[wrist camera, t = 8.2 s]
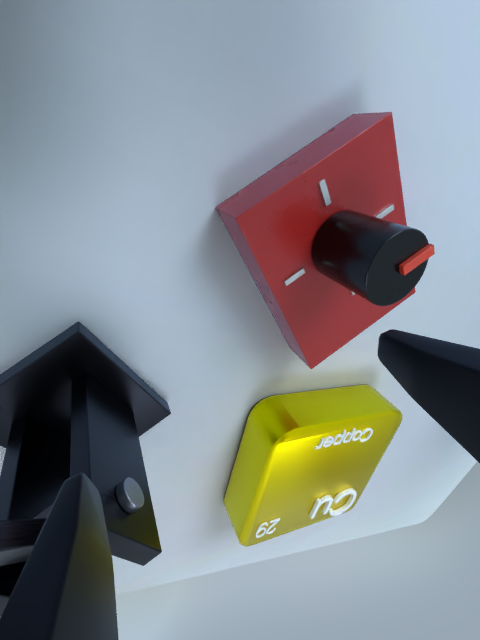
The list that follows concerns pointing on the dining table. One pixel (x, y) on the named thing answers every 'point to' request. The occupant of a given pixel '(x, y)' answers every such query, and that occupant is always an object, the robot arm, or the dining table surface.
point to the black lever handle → (20, 537)
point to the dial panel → (316, 230)
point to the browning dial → (371, 256)
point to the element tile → (306, 458)
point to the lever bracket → (78, 440)
